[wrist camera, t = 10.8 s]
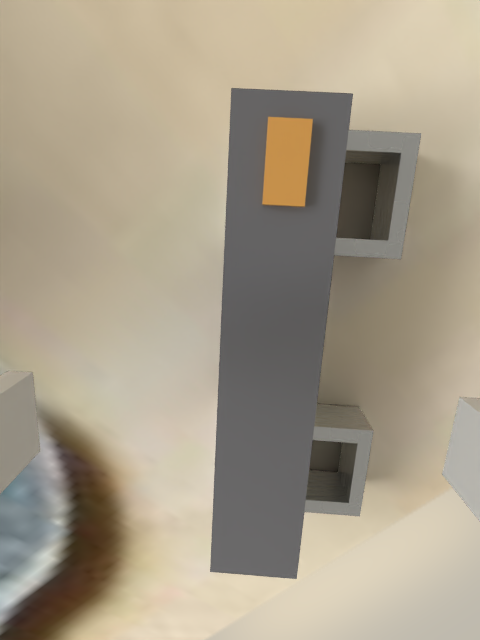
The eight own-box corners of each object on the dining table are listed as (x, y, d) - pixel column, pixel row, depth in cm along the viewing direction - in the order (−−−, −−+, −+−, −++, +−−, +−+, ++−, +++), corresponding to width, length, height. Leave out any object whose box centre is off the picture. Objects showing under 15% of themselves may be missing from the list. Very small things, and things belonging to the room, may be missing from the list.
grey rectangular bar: (223, 474, 26) (209, 579, 18) (240, 140, 20) (230, 83, 13) (284, 479, 26) (297, 586, 18) (317, 143, 20) (355, 89, 13)
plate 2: (232, 246, 22) (229, 249, 19) (237, 139, 20) (235, 124, 18) (381, 255, 22) (400, 259, 19) (397, 147, 20) (421, 133, 17)
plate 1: (221, 474, 26) (217, 505, 23) (225, 397, 24) (221, 419, 21) (347, 483, 25) (359, 516, 23) (359, 406, 24) (373, 430, 21)
